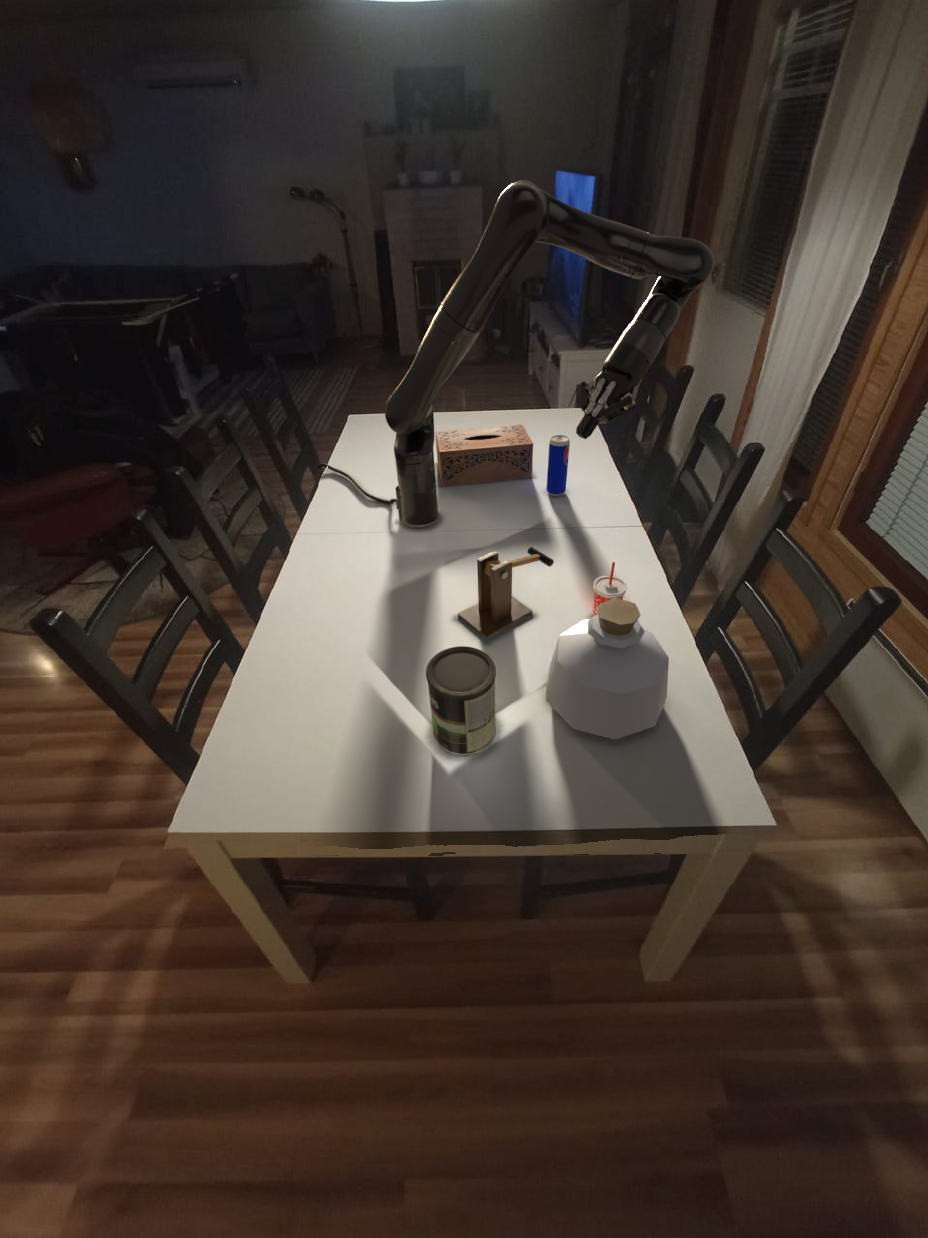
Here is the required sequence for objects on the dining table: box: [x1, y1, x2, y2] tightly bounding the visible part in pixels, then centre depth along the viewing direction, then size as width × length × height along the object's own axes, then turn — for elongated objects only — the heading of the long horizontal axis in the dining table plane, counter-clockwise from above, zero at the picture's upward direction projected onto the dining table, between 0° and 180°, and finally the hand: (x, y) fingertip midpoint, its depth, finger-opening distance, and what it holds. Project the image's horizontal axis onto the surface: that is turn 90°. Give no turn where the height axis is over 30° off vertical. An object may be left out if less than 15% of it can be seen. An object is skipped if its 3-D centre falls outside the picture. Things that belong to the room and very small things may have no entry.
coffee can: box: [425, 645, 497, 757], centre depth 86 cm, size 10×10×14 cm
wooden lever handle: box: [485, 546, 554, 577], centre depth 108 cm, size 14×6×2 cm, turn 127°
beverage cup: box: [592, 561, 628, 617], centre depth 105 cm, size 6×6×14 cm
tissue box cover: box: [434, 423, 534, 487], centre depth 160 cm, size 26×14×10 cm, turn 97°
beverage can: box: [546, 434, 571, 497], centre depth 147 cm, size 5×5×15 cm
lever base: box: [457, 550, 533, 639], centre depth 108 cm, size 12×9×14 cm
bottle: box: [545, 598, 670, 740], centre depth 89 cm, size 20×20×19 cm
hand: (580, 435), depth 106 cm, fingers closed
